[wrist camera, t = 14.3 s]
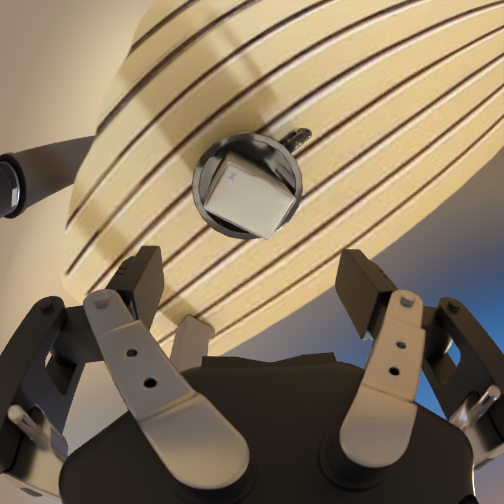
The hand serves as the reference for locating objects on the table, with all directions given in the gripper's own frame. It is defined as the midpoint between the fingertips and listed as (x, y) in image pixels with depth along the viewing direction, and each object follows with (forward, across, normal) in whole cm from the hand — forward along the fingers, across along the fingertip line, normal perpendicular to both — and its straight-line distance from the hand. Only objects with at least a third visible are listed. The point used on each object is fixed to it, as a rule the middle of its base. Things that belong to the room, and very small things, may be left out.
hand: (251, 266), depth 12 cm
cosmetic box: (+22, 0, 0) cm, 23 cm away
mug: (+23, -2, -1) cm, 23 cm away
